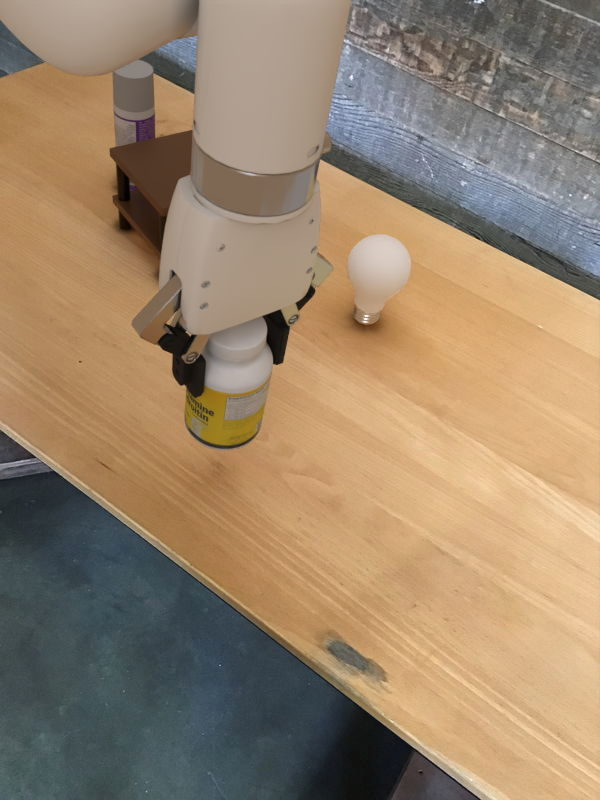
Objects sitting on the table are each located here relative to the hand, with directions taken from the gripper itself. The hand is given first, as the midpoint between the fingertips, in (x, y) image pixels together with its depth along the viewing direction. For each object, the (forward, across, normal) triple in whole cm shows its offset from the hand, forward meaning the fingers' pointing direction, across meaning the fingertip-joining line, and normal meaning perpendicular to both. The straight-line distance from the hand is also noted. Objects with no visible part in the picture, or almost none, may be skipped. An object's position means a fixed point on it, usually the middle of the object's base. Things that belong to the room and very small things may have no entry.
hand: (229, 366), depth 58 cm
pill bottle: (+7, 0, 0) cm, 7 cm away
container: (+15, -13, -42) cm, 47 cm away
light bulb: (+14, -24, -9) cm, 29 cm away
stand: (+14, -14, -30) cm, 36 cm away
